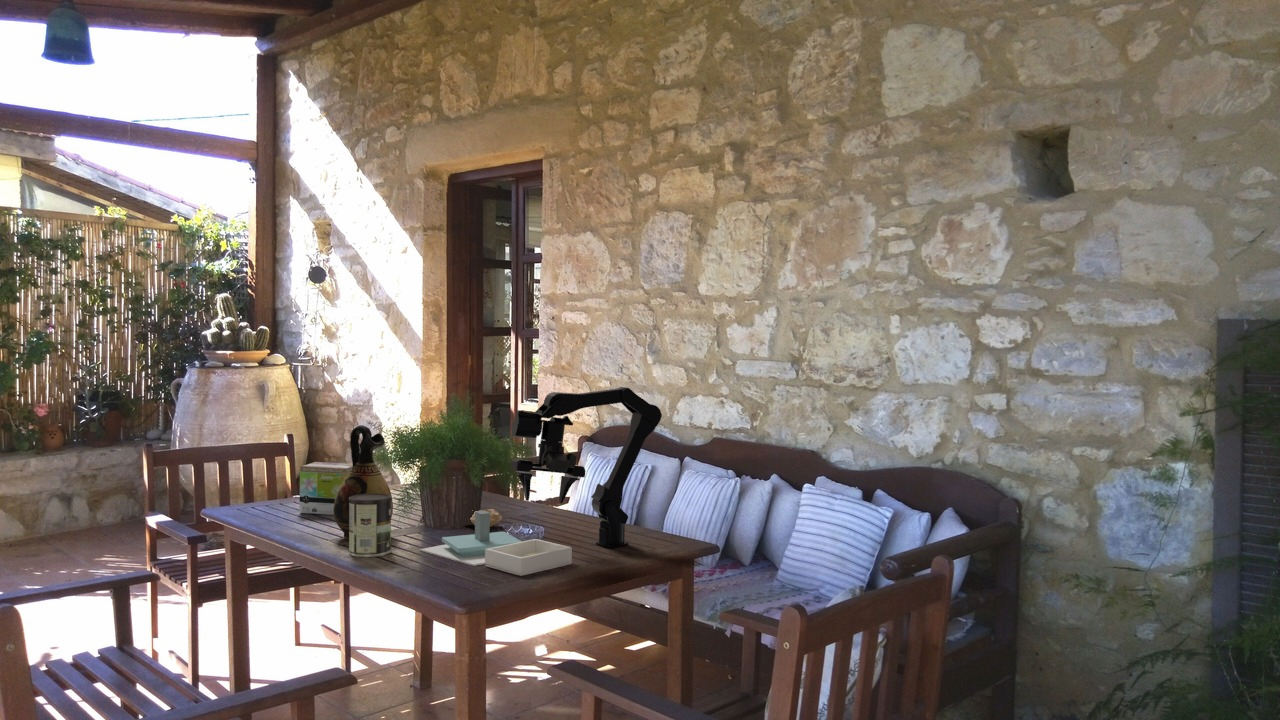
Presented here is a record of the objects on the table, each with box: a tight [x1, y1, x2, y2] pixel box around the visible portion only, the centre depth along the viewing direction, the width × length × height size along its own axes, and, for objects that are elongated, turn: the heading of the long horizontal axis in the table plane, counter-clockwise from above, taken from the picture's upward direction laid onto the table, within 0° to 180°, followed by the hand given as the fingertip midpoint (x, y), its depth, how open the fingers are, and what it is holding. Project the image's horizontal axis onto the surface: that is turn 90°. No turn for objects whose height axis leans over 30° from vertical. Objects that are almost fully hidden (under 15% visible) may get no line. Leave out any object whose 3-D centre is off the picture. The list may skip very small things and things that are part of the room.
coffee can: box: [348, 494, 393, 558], centre depth 230 cm, size 10×10×14 cm
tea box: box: [298, 461, 353, 516], centre depth 281 cm, size 15×10×15 cm, turn 83°
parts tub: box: [484, 538, 573, 577], centre depth 220 cm, size 16×13×4 cm
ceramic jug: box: [333, 424, 394, 541], centre depth 247 cm, size 17×15×30 cm
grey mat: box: [419, 543, 485, 567], centre depth 234 cm, size 22×22×1 cm
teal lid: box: [441, 510, 523, 557], centre depth 233 cm, size 17×14×10 cm
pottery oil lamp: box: [470, 508, 503, 528], centre depth 264 cm, size 9×12×7 cm
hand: (544, 502), depth 235 cm, fingers open, 9 cm apart
